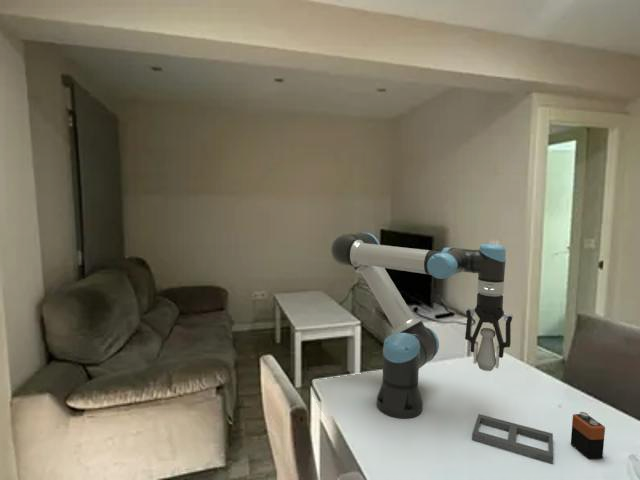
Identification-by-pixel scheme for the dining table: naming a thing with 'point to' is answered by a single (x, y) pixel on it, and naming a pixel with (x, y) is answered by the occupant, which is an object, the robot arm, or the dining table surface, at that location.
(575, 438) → the battery
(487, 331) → the salt shaker
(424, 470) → the dining table surface
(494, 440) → the double window frame
